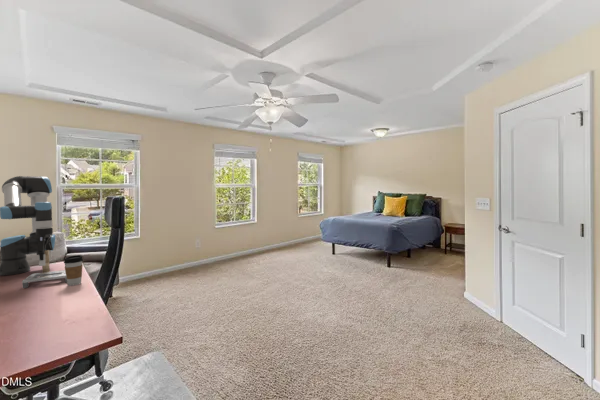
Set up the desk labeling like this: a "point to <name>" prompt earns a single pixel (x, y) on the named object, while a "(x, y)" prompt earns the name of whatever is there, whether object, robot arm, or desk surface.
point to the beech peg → (46, 262)
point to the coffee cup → (73, 269)
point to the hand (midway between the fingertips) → (45, 263)
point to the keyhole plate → (46, 277)
